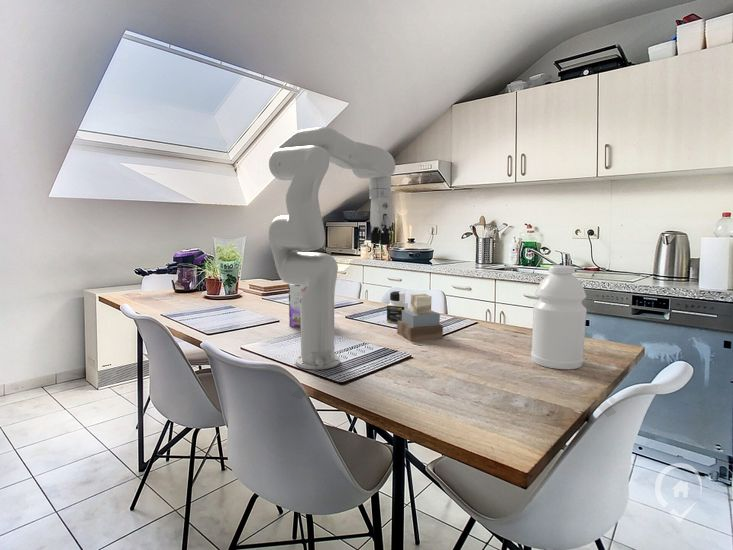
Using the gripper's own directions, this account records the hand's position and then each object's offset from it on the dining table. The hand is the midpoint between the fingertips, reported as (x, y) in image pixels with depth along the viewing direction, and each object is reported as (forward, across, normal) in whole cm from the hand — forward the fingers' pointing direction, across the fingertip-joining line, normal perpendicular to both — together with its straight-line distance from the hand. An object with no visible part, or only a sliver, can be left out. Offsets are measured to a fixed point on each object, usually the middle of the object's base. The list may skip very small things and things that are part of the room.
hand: (379, 244), depth 156 cm
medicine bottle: (+32, +17, -14) cm, 39 cm away
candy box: (+33, +20, +22) cm, 44 cm away
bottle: (+32, -46, -38) cm, 68 cm away
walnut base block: (+33, -7, -13) cm, 36 cm away
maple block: (+24, -8, -13) cm, 28 cm away
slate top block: (+28, -7, -13) cm, 31 cm away
